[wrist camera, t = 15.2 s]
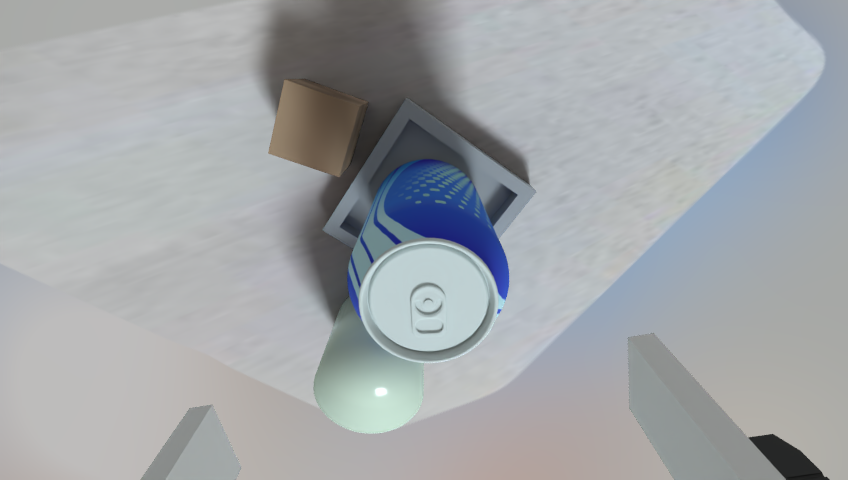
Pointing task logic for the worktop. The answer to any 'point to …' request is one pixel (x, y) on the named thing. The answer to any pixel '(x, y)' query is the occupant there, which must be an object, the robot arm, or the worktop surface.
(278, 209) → the worktop surface
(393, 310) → the beer can
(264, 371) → the worktop surface
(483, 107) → the worktop surface
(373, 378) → the pale green cylinder
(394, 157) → the slate tray
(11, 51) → the worktop surface
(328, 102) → the walnut block
